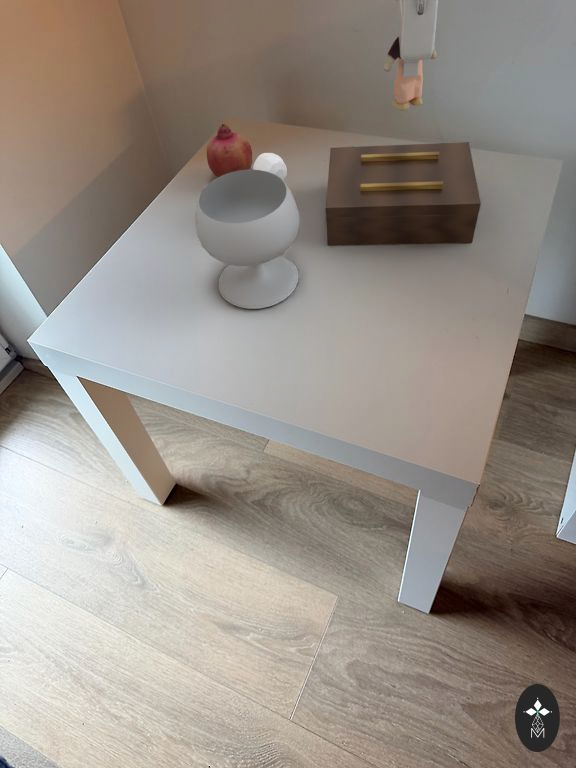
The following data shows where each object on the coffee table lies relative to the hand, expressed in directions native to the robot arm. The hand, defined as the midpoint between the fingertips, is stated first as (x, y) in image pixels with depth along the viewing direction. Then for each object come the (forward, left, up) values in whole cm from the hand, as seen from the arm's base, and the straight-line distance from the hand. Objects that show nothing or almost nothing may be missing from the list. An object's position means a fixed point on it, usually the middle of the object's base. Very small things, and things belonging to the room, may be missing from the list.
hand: (409, 66), depth 70 cm
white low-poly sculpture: (+24, 0, -23) cm, 33 cm away
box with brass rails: (0, 0, -22) cm, 22 cm away
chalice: (+21, +16, -23) cm, 35 cm away
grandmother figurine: (0, 0, -5) cm, 5 cm away
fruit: (+29, -11, -23) cm, 38 cm away
